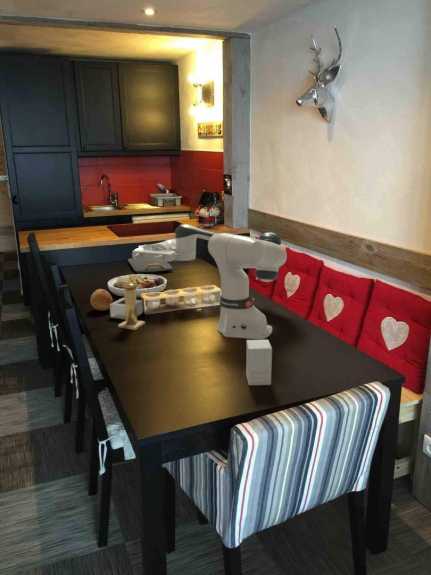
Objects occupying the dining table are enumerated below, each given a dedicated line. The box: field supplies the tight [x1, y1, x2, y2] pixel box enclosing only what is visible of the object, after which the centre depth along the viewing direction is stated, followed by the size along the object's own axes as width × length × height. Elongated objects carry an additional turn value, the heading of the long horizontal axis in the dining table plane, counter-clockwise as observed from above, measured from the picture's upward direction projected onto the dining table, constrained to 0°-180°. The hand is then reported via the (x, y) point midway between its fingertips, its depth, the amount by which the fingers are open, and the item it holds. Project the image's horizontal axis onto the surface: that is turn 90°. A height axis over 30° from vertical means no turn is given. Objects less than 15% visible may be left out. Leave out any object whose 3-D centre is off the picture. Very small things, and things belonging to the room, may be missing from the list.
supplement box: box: [245, 339, 273, 386], centre depth 153 cm, size 7×7×13 cm
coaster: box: [117, 319, 146, 331], centre depth 202 cm, size 8×8×1 cm
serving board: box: [127, 257, 174, 274], centre depth 298 cm, size 39×23×6 cm, turn 18°
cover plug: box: [122, 282, 138, 325], centre depth 200 cm, size 6×6×17 cm
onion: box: [89, 288, 113, 312], centre depth 219 cm, size 10×10×10 cm
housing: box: [109, 297, 143, 321], centre depth 214 cm, size 10×10×6 cm
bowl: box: [107, 273, 168, 298], centre depth 250 cm, size 30×30×8 cm
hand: (145, 258), depth 212 cm, fingers open, 8 cm apart
